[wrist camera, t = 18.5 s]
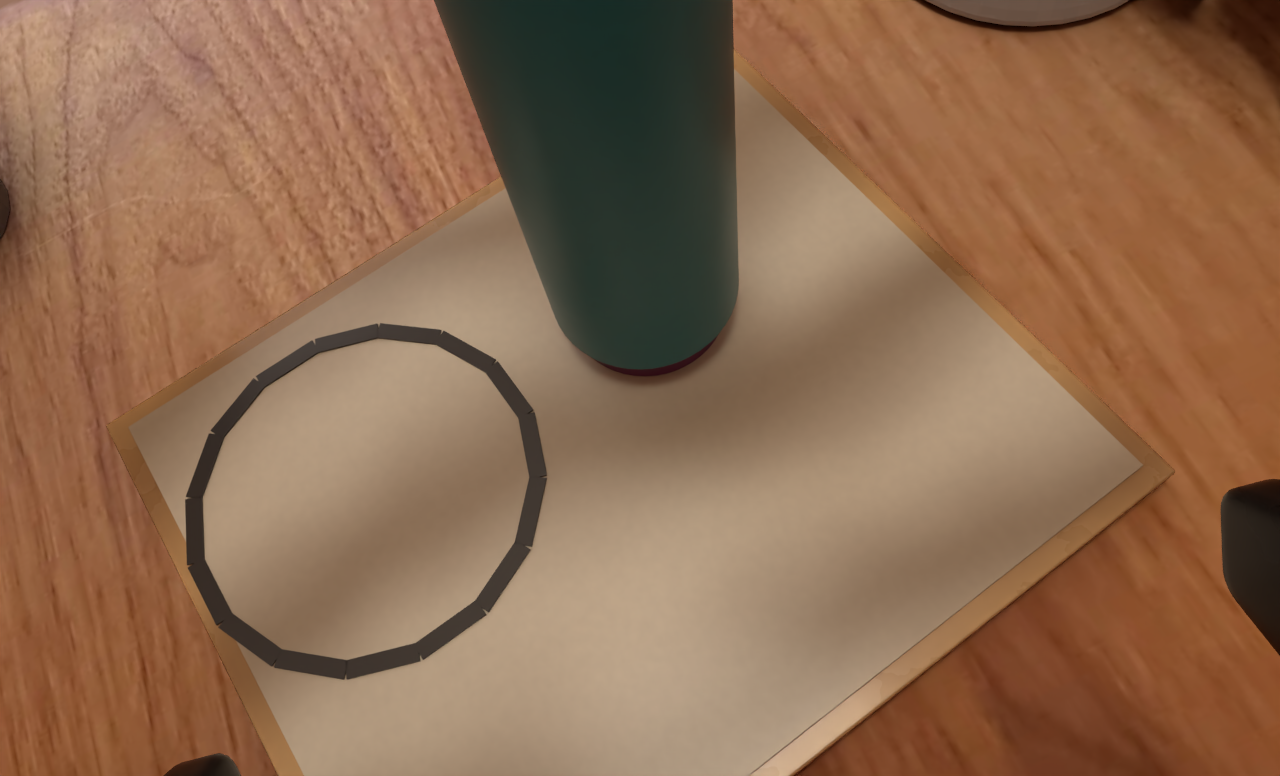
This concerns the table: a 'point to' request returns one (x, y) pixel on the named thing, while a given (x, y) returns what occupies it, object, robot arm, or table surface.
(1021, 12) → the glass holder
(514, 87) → the cylinder
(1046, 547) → the drawing board
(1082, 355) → the table surface
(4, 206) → the beverage cup
